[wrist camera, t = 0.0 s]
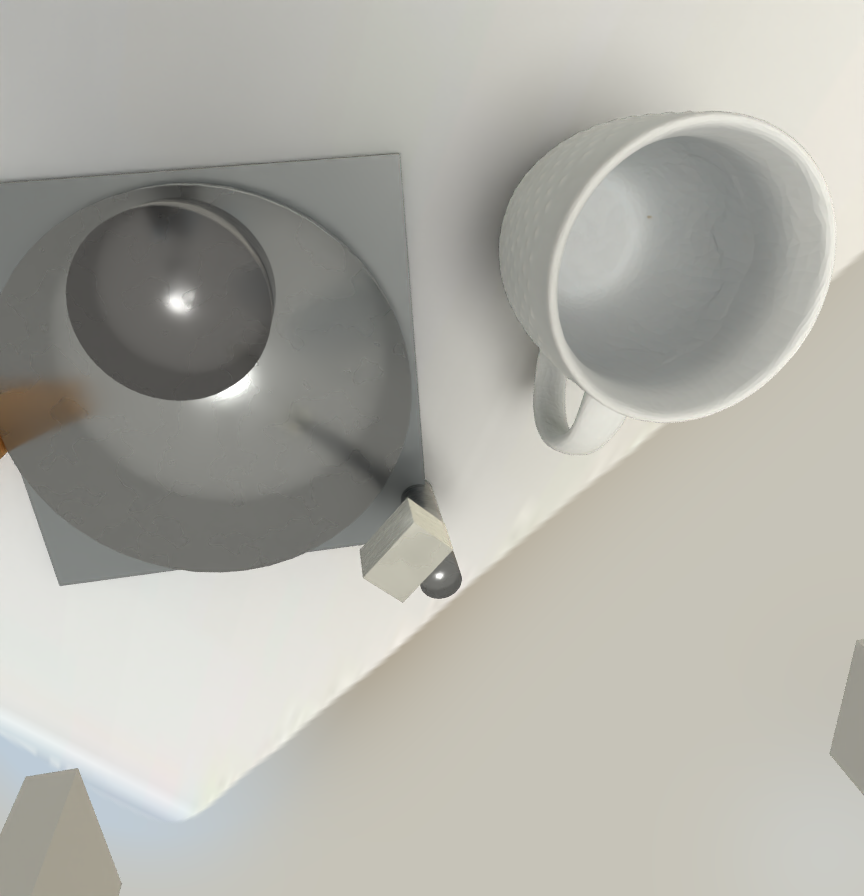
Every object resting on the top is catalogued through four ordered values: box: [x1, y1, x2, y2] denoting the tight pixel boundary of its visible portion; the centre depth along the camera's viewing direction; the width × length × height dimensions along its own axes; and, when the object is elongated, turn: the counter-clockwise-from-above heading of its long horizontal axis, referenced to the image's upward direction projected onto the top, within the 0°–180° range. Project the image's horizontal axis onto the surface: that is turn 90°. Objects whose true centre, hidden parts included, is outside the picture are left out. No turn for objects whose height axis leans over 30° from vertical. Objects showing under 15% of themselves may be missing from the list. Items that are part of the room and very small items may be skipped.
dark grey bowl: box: [66, 197, 276, 401], centre depth 31 cm, size 8×8×4 cm
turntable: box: [0, 183, 411, 572], centre depth 35 cm, size 20×26×2 cm
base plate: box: [0, 153, 425, 586], centre depth 37 cm, size 21×21×1 cm
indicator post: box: [360, 480, 462, 603], centre depth 37 cm, size 5×5×9 cm
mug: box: [499, 111, 836, 455], centre depth 32 cm, size 15×11×13 cm
